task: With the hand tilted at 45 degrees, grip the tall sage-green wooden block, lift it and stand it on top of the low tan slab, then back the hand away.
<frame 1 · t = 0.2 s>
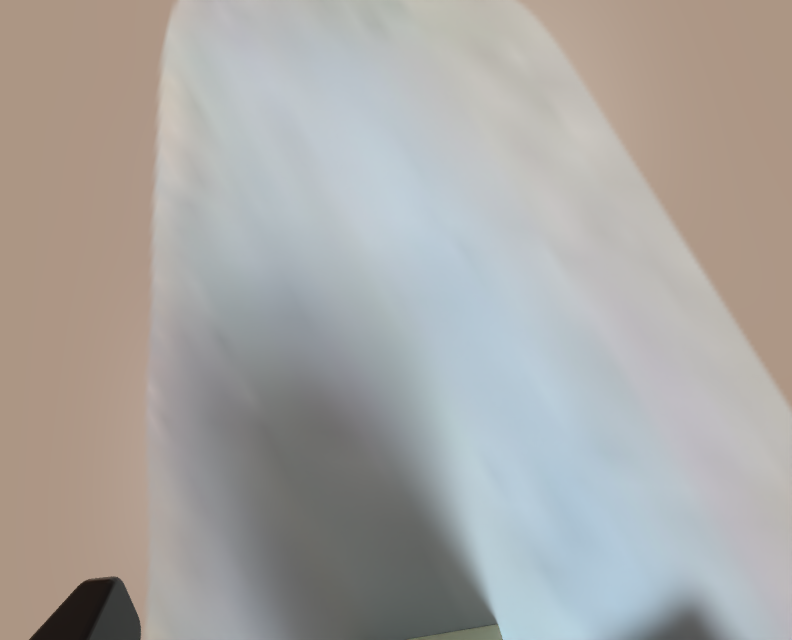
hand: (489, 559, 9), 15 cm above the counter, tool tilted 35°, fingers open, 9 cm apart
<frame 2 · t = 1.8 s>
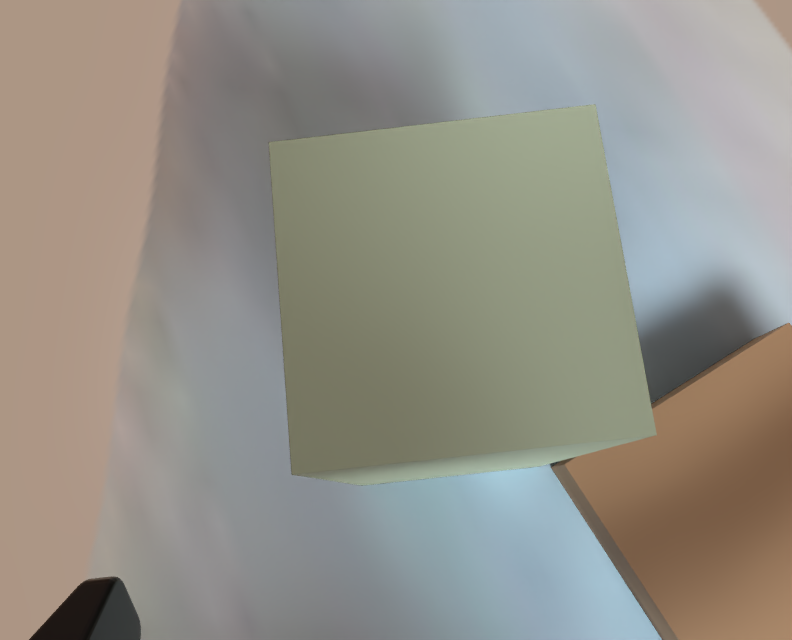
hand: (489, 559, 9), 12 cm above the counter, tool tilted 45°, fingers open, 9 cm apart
tan slab: (724, 510, 21), on the counter
sage block: (439, 388, 21), on the counter
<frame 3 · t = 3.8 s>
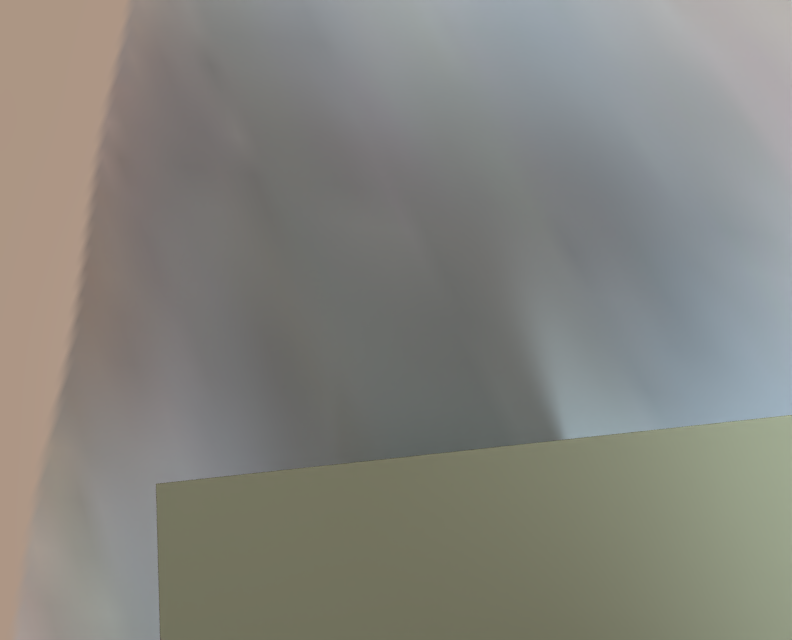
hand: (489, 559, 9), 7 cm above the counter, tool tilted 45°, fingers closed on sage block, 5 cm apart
sage block: (471, 603, 15), on the counter, touching gripper
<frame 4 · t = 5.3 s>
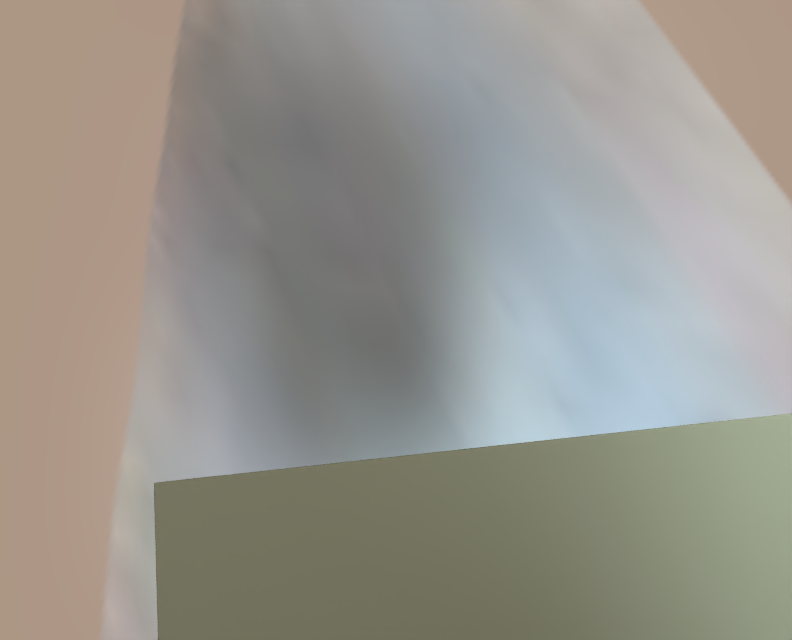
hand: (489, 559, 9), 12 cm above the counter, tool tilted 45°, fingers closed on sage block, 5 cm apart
sage block: (470, 603, 15), point 6 cm above the counter, touching gripper
when the fingers open (10 cm above the counter, at t = 7.0 s): sage block drops 2 cm, point 2 cm above the counter.
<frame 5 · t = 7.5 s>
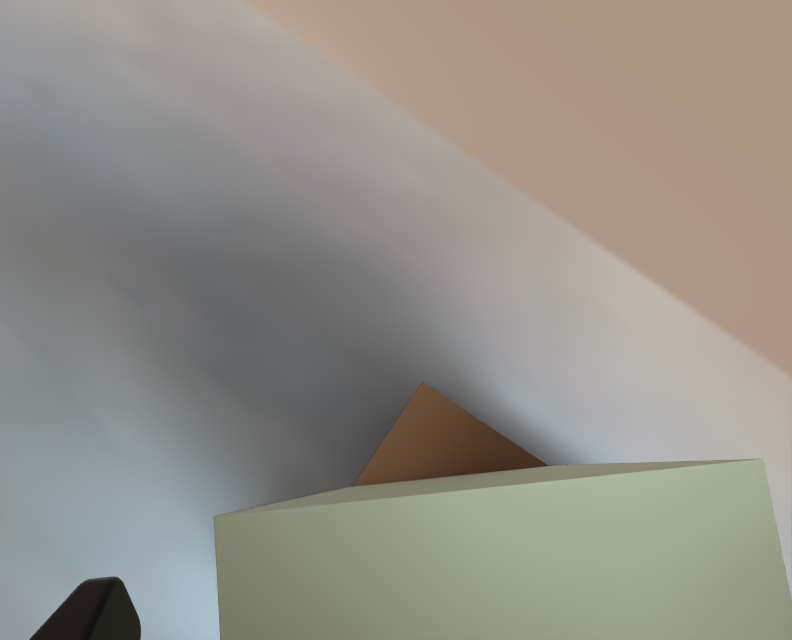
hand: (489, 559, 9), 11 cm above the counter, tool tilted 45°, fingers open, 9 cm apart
tan slab: (459, 579, 19), on the counter
sage block: (464, 586, 17), point 2 cm above the counter
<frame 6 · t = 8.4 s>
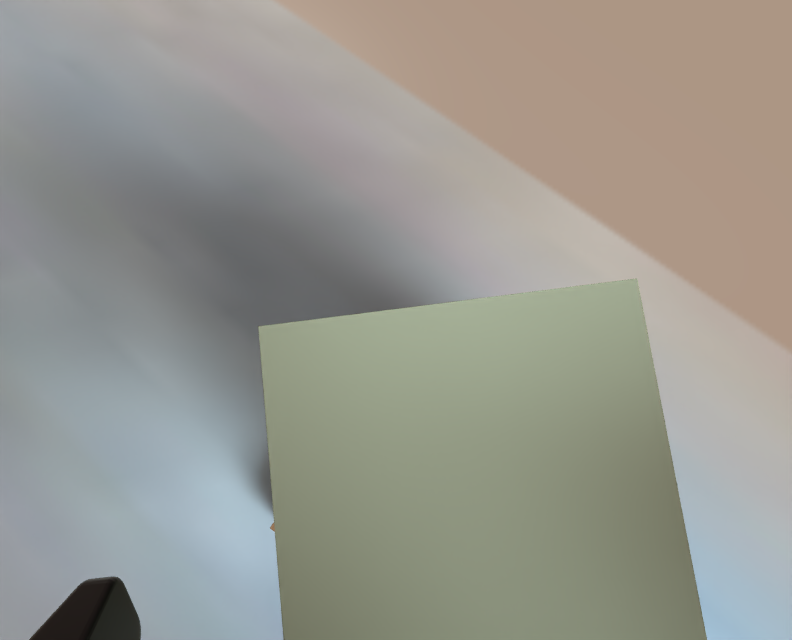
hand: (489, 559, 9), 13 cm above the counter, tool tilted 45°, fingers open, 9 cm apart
sage block: (450, 484, 20), point 2 cm above the counter
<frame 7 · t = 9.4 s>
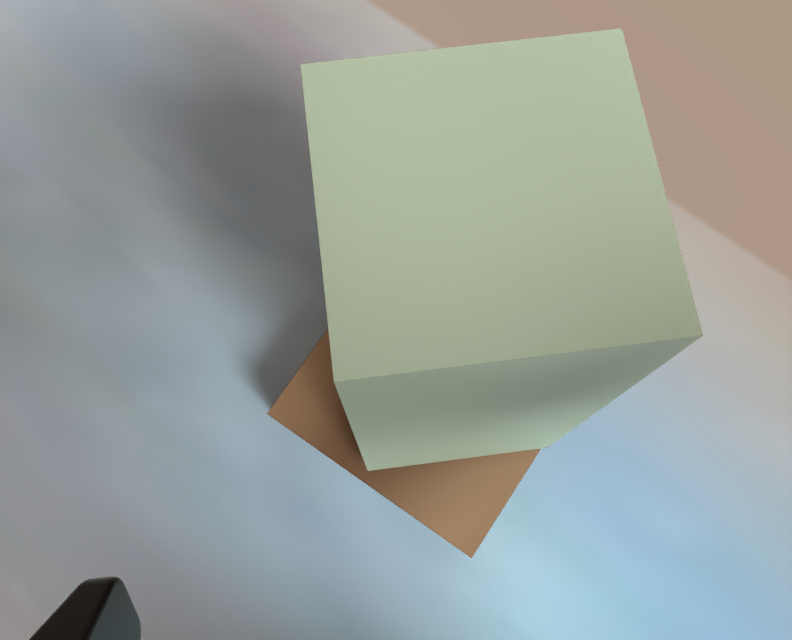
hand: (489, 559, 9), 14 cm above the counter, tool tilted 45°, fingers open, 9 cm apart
tan slab: (434, 392, 24), on the counter, touching sage block
sage block: (444, 371, 21), point 2 cm above the counter, touching tan slab
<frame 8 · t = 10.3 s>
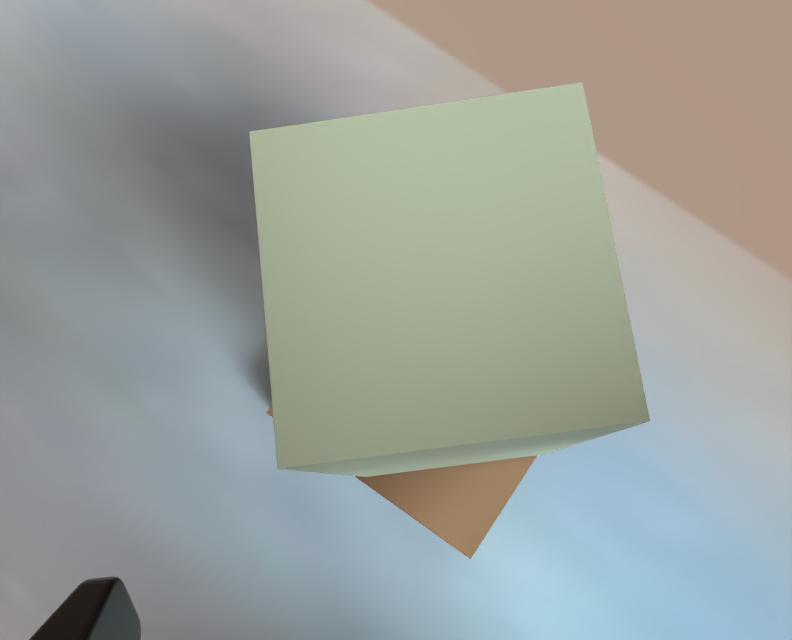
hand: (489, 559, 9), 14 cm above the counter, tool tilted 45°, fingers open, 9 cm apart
tan slab: (435, 393, 24), on the counter
sage block: (443, 377, 21), point 2 cm above the counter
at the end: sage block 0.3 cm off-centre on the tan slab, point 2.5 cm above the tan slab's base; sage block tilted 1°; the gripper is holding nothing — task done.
